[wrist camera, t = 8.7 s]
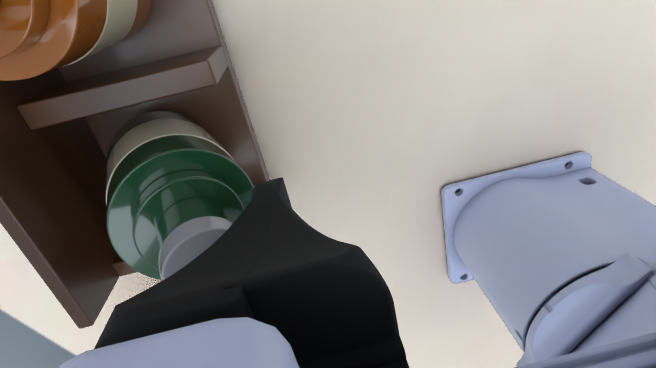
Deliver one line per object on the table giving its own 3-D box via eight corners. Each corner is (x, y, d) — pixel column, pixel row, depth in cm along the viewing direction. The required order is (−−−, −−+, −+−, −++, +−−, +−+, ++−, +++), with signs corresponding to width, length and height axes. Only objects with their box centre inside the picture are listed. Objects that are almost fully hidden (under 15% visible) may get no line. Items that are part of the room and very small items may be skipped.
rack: (162, -152, 16) (62, -271, 8) (272, 188, 23) (270, 282, 16) (-32, -105, 16) (-304, -184, 8) (141, 221, 23) (78, 329, 16)
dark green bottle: (195, 95, 19) (269, 154, 10) (229, 185, 21) (312, 293, 13) (85, 131, 17) (61, 236, 9) (135, 224, 20) (156, 379, 11)
